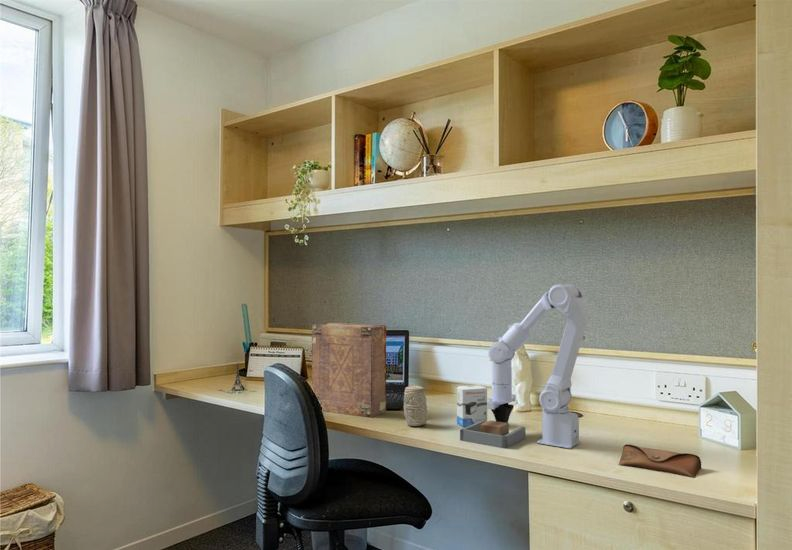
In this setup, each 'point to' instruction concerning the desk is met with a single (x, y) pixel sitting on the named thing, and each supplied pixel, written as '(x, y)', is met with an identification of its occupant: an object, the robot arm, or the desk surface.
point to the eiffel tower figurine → (237, 384)
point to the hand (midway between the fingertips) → (502, 429)
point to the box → (490, 436)
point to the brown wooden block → (495, 427)
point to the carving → (415, 406)
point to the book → (349, 368)
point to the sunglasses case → (660, 460)
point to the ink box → (471, 405)
